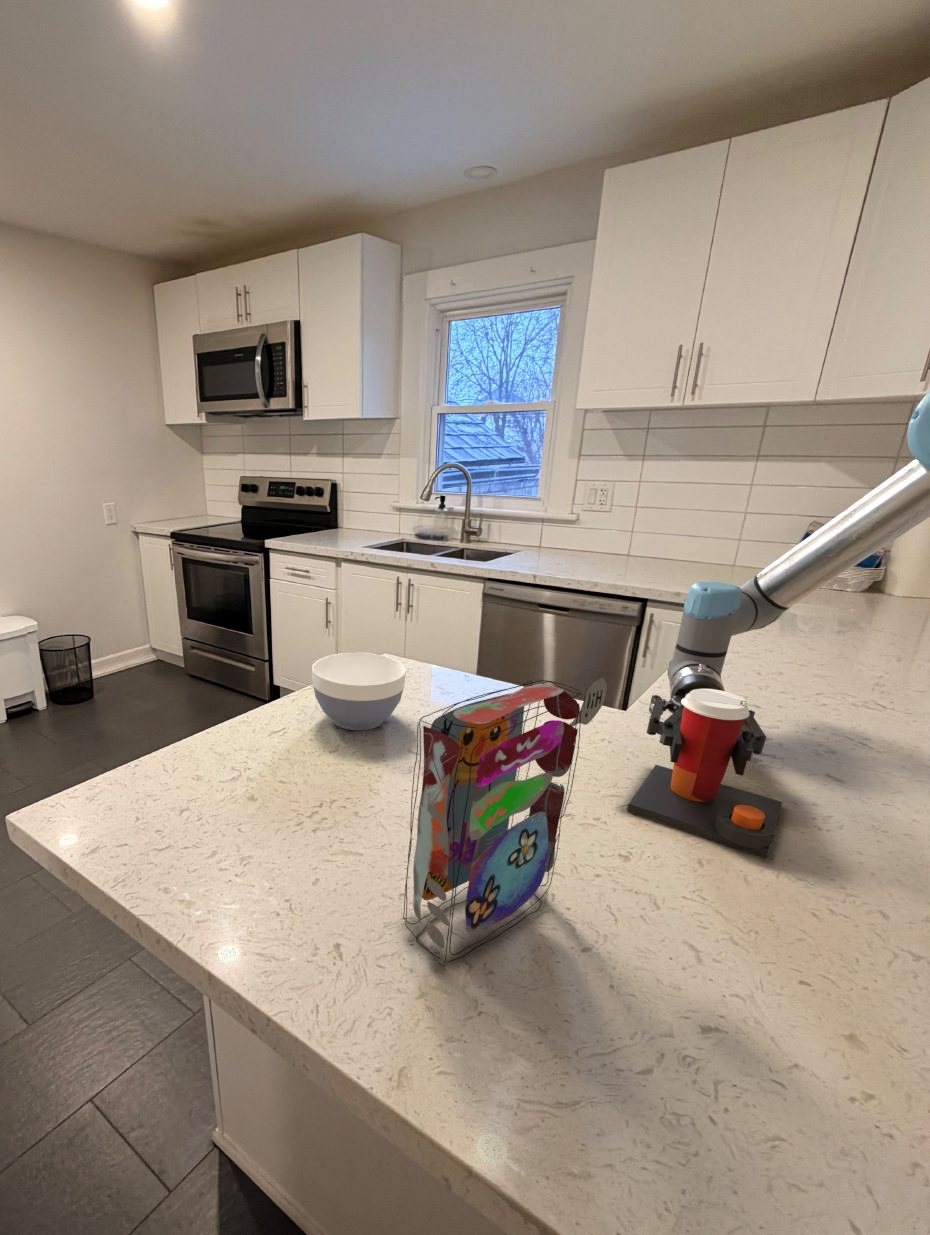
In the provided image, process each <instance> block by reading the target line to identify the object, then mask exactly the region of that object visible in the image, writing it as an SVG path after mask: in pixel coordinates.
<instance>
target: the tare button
mask: <svg viewBox="0 0 930 1235" xmlns="http://www.w3.org/2000/svg"><path fill="white" fill-rule="evenodd" d="M764 818H765V815H764V813H763V812H762V811H761V810H759V809H757V808H755V807H752V806H748V805H737V806H735V808H734V811H733V814H732V817H731V821H732V822H733V823H734V824H736V825H738V826H739V827H742V828H746V829H749V830H760V829H761V827H762V824H763V821H764Z"/></svg>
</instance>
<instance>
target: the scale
mask: <svg viewBox="0 0 930 1235" xmlns="http://www.w3.org/2000/svg"><path fill="white" fill-rule="evenodd" d="M672 772H673V768H670V767H666V766H662V765H659V764H654V766H653V767H652V769H651V771H650V772H649V773H648V775H647V776H646V777H645V779H644V781H643V782H642V783H641V785H640V786H639V788H638V789H637V790H636V792H635V794H634V795H633V796H632V798H631V799H630V801H629V802H628V804H627V808H626V811H627V812H629V813H632V814H635V815H638V816H641V817H644V818H647V819H649V820H651V821H652V820H653V821H655V822H658V823H662V824H664V825H666V826H670V827H673V828H677V829H679V830H682V831H685V832H687V833H690V834H692V835H693V834H694V835H697V836H699V837H702V838H705V839H709V840H712V841H714V842H716V843H720V844H723V845H726V846H729V847H732V848H735V849H736V850H737V849H738V850H740V851H743V852H747V853H748V854H749V853H750V854H752V855H754V856H757V857H761V858H764V859H767V858H768V855H769V852H770V849H771V846H772V844H773V841H774V839H775V838H774V837H775V835H776V831H777V824H778V820H779V817H780V813H781V809H782V806H783V801H781V800H778V799H775V798H771V797H768V796H764V795H761V794H758V793H754V792H752V791H747V790H744V789H741V788H738V787H734V786H730V785H728V784H723V783H721V785H720V788H719V790H718V793H717V795H716V797H715V799H714V800H712V801H708V802H698V801H693V800H689V799H686V798H683V797H681V796H679V795H677V794H676V793H675V792H674V791H673V790H672V789H671V779H672ZM737 805H748V806H752V807H755V808H757V809H759V810H761V811H762V812H763V813H764V815H765V818H764V821H763V824H762V827H761V829H760V830H749V829H746V828H742V827H739V826H738V825H736V824H734V823H733V822H732V821H731V817H732V814H733V811H734V808H735V806H737Z"/></svg>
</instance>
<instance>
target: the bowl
mask: <svg viewBox="0 0 930 1235" xmlns="http://www.w3.org/2000/svg"><path fill="white" fill-rule="evenodd" d="M406 674H407V668H406V666H405V665H404V664H403V663H402V662H401V661H399V660H397V659H395V658H393V657H390V656H386V655H382V654H377V653H370V652H341V653H334V654H329V655H326V656H324V657H321V658H319V659H317V660H316V661H314V662H313V664H312V666H311V676H312V686H313V692H314V696H315V699H316V701H317V703H318V705H319V706H320V709H321V710H322V712H323V713H324V714H325V715H326V716H328V717H329V718H330V720H331V722H332V724H334V725H335V726H337V727H339V728H342V729H345V730H350V731H368V730H373V729H376V728H378V727H380V726H381V725H382V724H383V723H384V721H385V720H386V719H387V718H389V717H390V716H392V714H393V712H394V711H395V710H396V708H397V707H398V705H399V704H400V702H401V699H402V695H403V692H404V688H405V684H406V683H405V682H406Z"/></svg>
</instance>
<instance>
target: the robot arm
mask: <svg viewBox="0 0 930 1235" xmlns="http://www.w3.org/2000/svg"><path fill="white" fill-rule="evenodd" d="M906 436H907V439H906V440H907V445H908V449H909V451H910V453H911V455H912V456H913V457H914V459H913V460H912V461H910V462H909V463H908V464H906V465H905V466H904V467H902V468H901V469H899V470H898V471H897V472H896V473H894V474H893V475H891V476H890V477H888V478H887V479H886V480H885V481H883V482H882V483H880V484H879V485H878V486H876V487H875V488H873V489H872V490H871V491H870V492H868V493H866V494H865V495H864V496H862V497H861V498H860V499H859V500H857V501H856V502H854V503H853V504H852V505H850V506H849V507H847V508H846V509H845V510H843V511H842V512H841V513H839V514H838V515H836V516H835V517H834V518H832V519H831V520H830V521H828V522H827V523H825V524H824V525H823V526H821V527H820V528H818V529H817V530H816V531H814V532H813V533H812V534H811V535H809V536H808V537H806V538H805V539H803V540H802V541H800V543H798V544H796V545H795V546H794V547H793V548H792V549H790V550H788V551H787V552H786V553H784V554H783V555H781V556H780V557H779V558H777V559H776V560H775V561H773V562H772V563H771V564H769V565H768V566H767V567H765V568H764V569H763V570H762V571H760V572H758V573H757V574H756V575H754V576H753V577H752V578H750V579H749V580H747V581H746V582H745V583H743V584H742V585H741V586H737V585H735V584H732V583H726V582H722V581H711V580H710V581H699V582H695V583H694V584H692V585H691V587H690V588H689V590H688V594H687V596H686V600H685V602H684V604H683V612H682V616H681V621H680V626H679V631H678V636H677V639H676V644H675V647H674V651H673V655H672V657H671V659H670V661H669V664H668V668H667V676H668V680H669V694H670V695H669V696H670V699H669V700H666V699H665V698H662V696H659V695H657V694H653V695H651V699H650V703H649V707H648V708H649V709H648V711H649V713H650V716H649V719H648V725H647V729H646V734H647V735H650V736H656V734H658V735H660V738H659V744H662V745H663V746H666V747H669V756H670V757H669V758H670V762H671V763H673V764H674V763H677V762H678V758H679V754H680V750H681V746H682V741H681V731H680V727H681V721H682V715H683V710H684V705H683V704H682V703H681V700H682V699H683V698H685V696H686V694H688V693H690V691H692V690H696V689H715V690H721V691H725V692H726V689H725V686H724V683H723V679H722V671H723V668H724V664H725V661H726V656H727V653H728V650H729V645H730V642H731V639H732V637H734V636H737V635H740V634H743V633H747V632H751V631H755V630H761V629H763V628H766V627H767V626H769V625H771V624H774V623H775V622H776V621H778V620H779V619H780V618H781V616H782V615H783V613H784V612H786V611H787V610H789V609H791V607H794V606H795V605H796V604H798V603H800V602H801V601H802V600H804V599H805V598H807V597H808V596H810V595H811V594H813V593H814V592H816V591H818V590H820V589H821V588H822V587H824V586H825V585H827V584H829V583H830V582H832V581H833V580H836V579H837V578H838V577H839V576H841V575H843V574H844V573H845V572H847V571H849V570H850V569H852V568H854V567H855V566H857V565H858V564H860V563H861V562H863V561H864V560H866V559H867V558H868V557H870V556H872V555H873V554H876V552H878V551H879V550H881V549H883V548H884V547H885V546H888V545H889V544H890V543H892V542H893V541H895V540H897V539H898V538H899V537H901V536H903V535H904V534H906V533H907V532H909V531H910V530H913V529H914V528H915V527H917V526H918V525H919V524H921V523H923V522H925V521H926V520H927V519H928V518H930V391H928V393H927V394H925V395H924V397H923V398H922V399H921V400H920V402H919V404H918V405H917V406H916V408H915V409H914V411H913V414H912V416H911V418H910V420H909V423H908V427H907V433H906ZM667 710H668V712H669V713H671V715H669V716H668V717H667V718H666V719H665V720H664V721H661V716H663V715H664V712H666V711H667ZM748 710H749V713H750V715H749V716H748V717H747V718H745V720H744V723H743V726H742V728H741V731H740V734H739V736H738V739H737V742H736V745H735V747H734V750H733V753H732V756H731V760H732V765H733V768H734V772H735V773H734V774H735V775H738V776H741V777H743V776H744V773H745V771H746V767H747V762H750V761H751V760H752V757H753V754H754V755H762V753H763V749H764V746H765V743H766V739H767V736H766V734H765V732H764V731H763V729H762V728H761V726H760V725H759V723H758V722H757V720H756V718H755V715H756V711H754V710H752V709H748Z"/></svg>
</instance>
